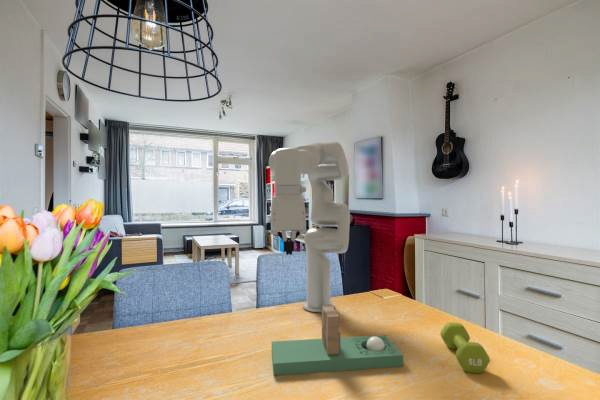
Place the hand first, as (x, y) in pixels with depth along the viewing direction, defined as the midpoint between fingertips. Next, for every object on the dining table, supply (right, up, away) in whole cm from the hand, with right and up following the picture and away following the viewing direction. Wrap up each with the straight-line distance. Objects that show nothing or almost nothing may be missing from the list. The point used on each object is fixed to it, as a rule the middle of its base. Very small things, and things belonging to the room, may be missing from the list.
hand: (288, 253), depth 93 cm
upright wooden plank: (+11, -25, -6) cm, 28 cm away
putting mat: (+13, -28, -6) cm, 31 cm away
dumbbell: (+48, -28, -5) cm, 56 cm away
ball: (+24, -25, -4) cm, 35 cm away
